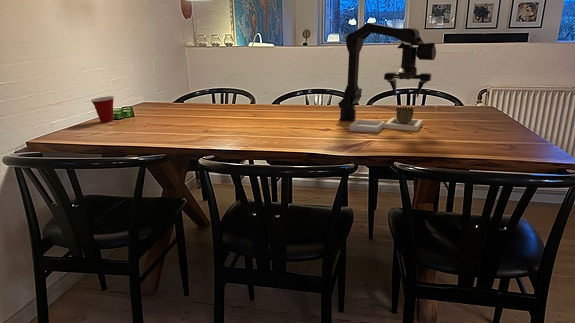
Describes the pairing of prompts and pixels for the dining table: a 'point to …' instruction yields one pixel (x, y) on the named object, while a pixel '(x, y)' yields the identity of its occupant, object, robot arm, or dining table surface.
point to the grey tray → (367, 126)
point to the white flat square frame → (415, 127)
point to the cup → (404, 115)
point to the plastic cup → (104, 108)
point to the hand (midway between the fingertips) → (406, 96)
